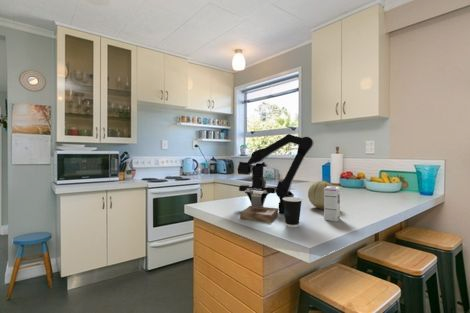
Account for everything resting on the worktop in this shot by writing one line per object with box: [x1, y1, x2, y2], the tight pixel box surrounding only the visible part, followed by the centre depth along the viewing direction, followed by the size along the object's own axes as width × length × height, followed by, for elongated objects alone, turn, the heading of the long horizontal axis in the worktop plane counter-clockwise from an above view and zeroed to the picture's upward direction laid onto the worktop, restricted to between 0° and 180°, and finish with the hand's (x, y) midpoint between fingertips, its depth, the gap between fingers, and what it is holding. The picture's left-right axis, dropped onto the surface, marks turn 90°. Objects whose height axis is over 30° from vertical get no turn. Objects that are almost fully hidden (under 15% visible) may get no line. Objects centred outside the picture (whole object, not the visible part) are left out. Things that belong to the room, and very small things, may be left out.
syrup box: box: [323, 185, 341, 222], centre depth 113 cm, size 6×6×14 cm
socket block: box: [239, 205, 279, 223], centre depth 116 cm, size 14×14×3 cm
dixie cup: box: [283, 196, 303, 228], centre depth 103 cm, size 8×8×11 cm
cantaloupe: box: [307, 179, 334, 210], centre depth 134 cm, size 15×15×15 cm
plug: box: [250, 192, 264, 207], centre depth 130 cm, size 5×5×8 cm
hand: (257, 205), depth 130 cm, fingers closed on plug, 5 cm apart
